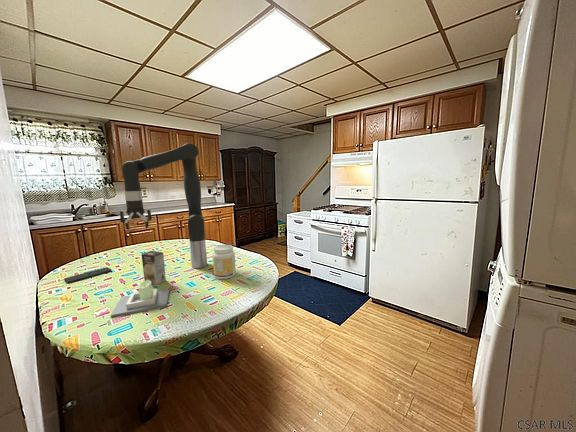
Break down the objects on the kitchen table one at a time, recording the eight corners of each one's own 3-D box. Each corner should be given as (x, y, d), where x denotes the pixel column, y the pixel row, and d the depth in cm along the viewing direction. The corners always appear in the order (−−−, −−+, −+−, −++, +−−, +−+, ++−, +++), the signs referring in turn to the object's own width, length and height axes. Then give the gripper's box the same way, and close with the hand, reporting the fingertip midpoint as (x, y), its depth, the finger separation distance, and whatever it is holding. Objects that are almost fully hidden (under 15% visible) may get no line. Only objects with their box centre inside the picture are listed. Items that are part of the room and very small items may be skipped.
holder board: (169, 290, 115) (168, 284, 115) (166, 306, 101) (165, 300, 100) (121, 298, 108) (120, 292, 107) (110, 317, 93) (109, 310, 93)
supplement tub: (220, 270, 139) (218, 243, 137) (239, 271, 137) (237, 244, 134) (209, 279, 127) (207, 249, 125) (230, 280, 125) (228, 251, 122)
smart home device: (112, 269, 140) (67, 281, 124) (112, 272, 140) (68, 284, 124) (106, 266, 145) (63, 278, 129) (107, 269, 145) (64, 281, 129)
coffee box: (143, 282, 124) (140, 254, 122) (154, 277, 130) (151, 250, 128) (156, 284, 121) (153, 255, 119) (166, 279, 127) (163, 252, 125)
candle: (147, 303, 102) (144, 285, 100) (137, 302, 103) (135, 284, 101) (155, 297, 106) (153, 280, 105) (146, 296, 107) (144, 279, 106)
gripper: (150, 198, 130) (153, 226, 133) (120, 199, 125) (124, 228, 128) (148, 199, 123) (151, 229, 126) (116, 200, 118) (120, 231, 121)
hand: (137, 228), depth 127 cm, fingers open, 8 cm apart
